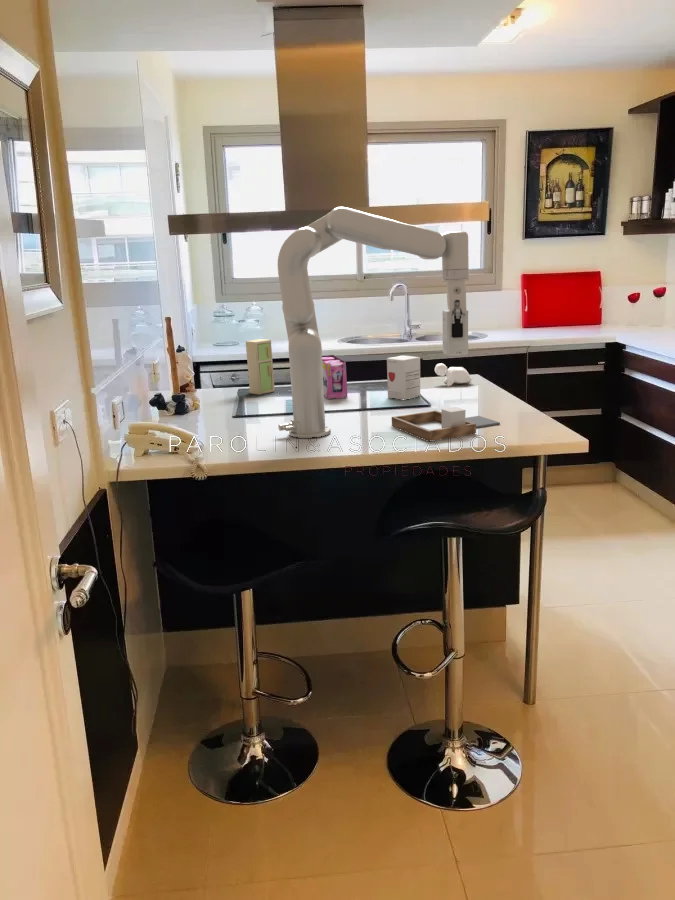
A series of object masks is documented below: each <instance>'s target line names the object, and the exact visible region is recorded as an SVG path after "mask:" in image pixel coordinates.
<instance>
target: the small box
mask: <svg viewBox="0 0 675 900" xmlns="http://www.w3.org/2000/svg"><path fill="white" fill-rule="evenodd" d="M452 312H453V313H456V311H452ZM466 312H467V314H466V315H464V314H465V313H464V314H463V313H462V323H463V337H460V338H452V324H453V322H452V316H451V315H450V311H448V309H442V353H443V354H444V355H445V356H447V357H454V356H468V355H469V310H467V309H466ZM454 319H455V318H454Z"/></svg>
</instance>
